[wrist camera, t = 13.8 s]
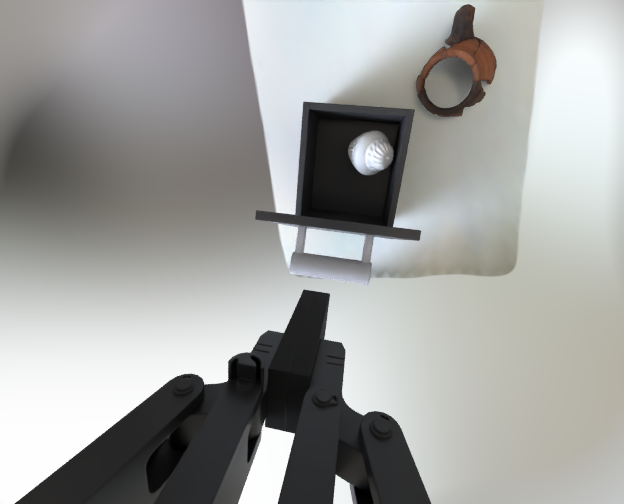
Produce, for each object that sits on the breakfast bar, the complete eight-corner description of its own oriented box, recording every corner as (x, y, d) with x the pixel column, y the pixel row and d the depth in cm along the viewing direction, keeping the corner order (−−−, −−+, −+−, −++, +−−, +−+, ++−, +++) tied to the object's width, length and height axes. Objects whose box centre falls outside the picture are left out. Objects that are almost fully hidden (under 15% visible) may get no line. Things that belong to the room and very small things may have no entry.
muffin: (333, 147, 41) (365, 156, 36) (362, 117, 42) (398, 123, 36) (350, 178, 45) (381, 190, 40) (376, 151, 46) (411, 160, 41)
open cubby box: (314, 112, 45) (303, 101, 36) (404, 119, 43) (414, 109, 34) (306, 211, 50) (294, 222, 41) (386, 221, 48) (391, 235, 39)
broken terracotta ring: (496, 103, 41) (487, 116, 36) (427, 113, 46) (410, 126, 41) (505, -6, 35) (497, -9, 29) (425, 20, 40) (405, 22, 35)
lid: (256, 210, 24) (249, 270, 25) (421, 230, 23) (411, 295, 23) (294, 220, 41) (289, 256, 41) (392, 232, 39) (386, 270, 39)
